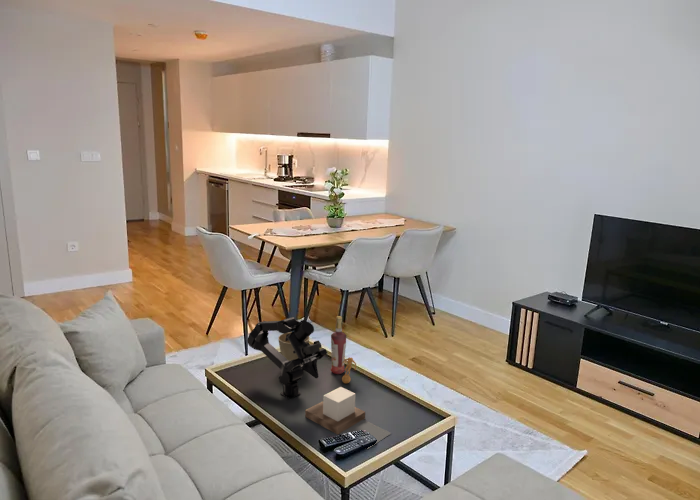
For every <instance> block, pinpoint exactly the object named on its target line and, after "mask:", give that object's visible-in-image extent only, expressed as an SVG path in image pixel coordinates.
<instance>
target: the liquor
mask: <svg viewBox="0 0 700 500" xmlns="http://www.w3.org/2000/svg"><path fill="white" fill-rule="evenodd" d="M335 319H336V321H335V322H336V325H335V326H336V327H335V331H334V332H332V333H331V334H330V348H331V349H330V350H331V368H330V372H332V373H333V374H335V375H342V374H343V373H344V372H345V371H346V370H345V362H344V363H343V361H344V360H345V359H346V348H347V333H345V332H343V326H342V323H343V317H342V315H341V316H340V315H337V316H336V318H335ZM345 361H346V360H345ZM342 363H343V364H342ZM341 364H342V365H341Z"/></svg>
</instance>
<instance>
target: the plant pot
mask: <svg viewBox="0 0 700 500" xmlns="http://www.w3.org/2000/svg"><path fill="white" fill-rule="evenodd" d="M292 332H293V331H291V332H288V333H285V334H284V333H281V334H279V336H278V344H279V345H278V346H279V350H280V351H279V352H280V353H281V354H282V355H283V356H284V357H285V358H286V359H287V360H289V361H291V360H295V359H297V358H298V356H297V354H296V353H295V354H294V353H293V351H294V349H293V347H292V345H291V343H290V341H285V339H286V335H287V334H291V333H292ZM310 339H311V338H310V336H309V337H308V338H307V339H305V342H306V343H309V344H310ZM300 366H301V365H300Z"/></svg>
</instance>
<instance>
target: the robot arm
mask: <svg viewBox="0 0 700 500" xmlns="http://www.w3.org/2000/svg"><path fill="white" fill-rule="evenodd" d="M270 331H271V332H274V331H276V332H278V333H281V334H285V333H288V332H292V333H291V334H287V335H286V339H285V341H290V343H291V345H292V347H293V349H294V351H293V353H294V354H295V353H296V354H297V356H298V358H297V359H295V360H291V361H289V360H287V359H286V358H285V357H284V356H283V355H282V354H281V351H279V350H278V349H276V347H274V346H273V345H272V344H271V343H270V342H269V341H270V340H269V337H268V336H269V332H270ZM314 332H315V327H314V325H313V324H312V323H311V322H309V321H306V319H301V320H298V319H296V317H293V316H291V317H288V318H286V319H285V318H284V319H282V320H269V321H267V320H263V321H260V322H257V323H256V324H255V326H254V328H253V329H252V330H251V331H250V332H249V334H248V337H247V340H246V341H247V344H248V346H249V347H250V348H252V349H253V350H254V351H255V350H256V351H260V352H262V354H264V355H265V357H267V358H268V359H269V360H270V361H271V362H272V363H274V365H276V366H277V367H278V368H279V370H280V373H281V375H280V376H279V377H278V381H279V383H280V384H281V385H282V391H281V392H280V395H282V396H284V397H286V398H287V399H289V400H290V399H294V398H295V397H297V396H299V395H301V392H300V391H299V381H300V380H302V379H303V376H304V372H305V373H307V374H309V375H310V376H311V377H313V378H314V379H318V378H319V372H318V364H317V363H318V361H319V360H321V359H323V358H324V357H325V356H326V355H327V354H328V351H327V349H326V348H322V343H321V342H320V340H318V339H317V340H315V341H313V344H310V342H309V343H306V342H305V339H307V338H308V337H310V336H311V335H312V334H313V333H314ZM300 365H301V366H300Z"/></svg>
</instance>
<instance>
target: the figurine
mask: <svg viewBox="0 0 700 500" xmlns="http://www.w3.org/2000/svg"><path fill="white" fill-rule="evenodd" d="M346 361H347V364H346V366H345V367H344V369H345V371H346V372H345V373H344V375H343V376H342V377H341V381H342V383H343V384H349V383H350V382H351V381H352V380H351V376H350V374H351V369H352V363H353V364H354V371H356V370H357V363H356V361H355V360H354V358H353V357H347V358H345V360H344V361H343V363H344V364H345V363H346ZM343 363H342V364H343ZM342 364H341V365H342Z"/></svg>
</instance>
